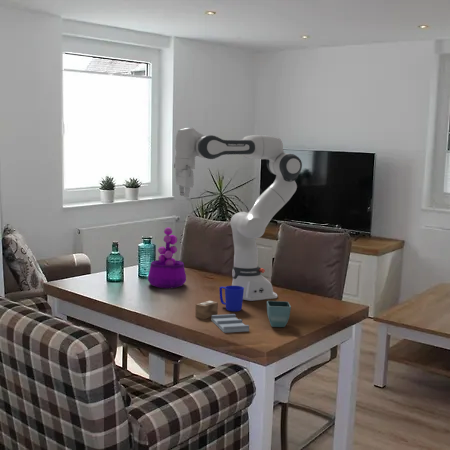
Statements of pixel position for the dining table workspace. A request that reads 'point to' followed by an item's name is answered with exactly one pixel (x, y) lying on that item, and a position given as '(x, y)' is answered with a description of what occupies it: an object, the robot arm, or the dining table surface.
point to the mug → (232, 297)
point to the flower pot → (278, 313)
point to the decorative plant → (167, 266)
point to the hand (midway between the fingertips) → (184, 196)
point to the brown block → (206, 309)
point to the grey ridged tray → (229, 323)
